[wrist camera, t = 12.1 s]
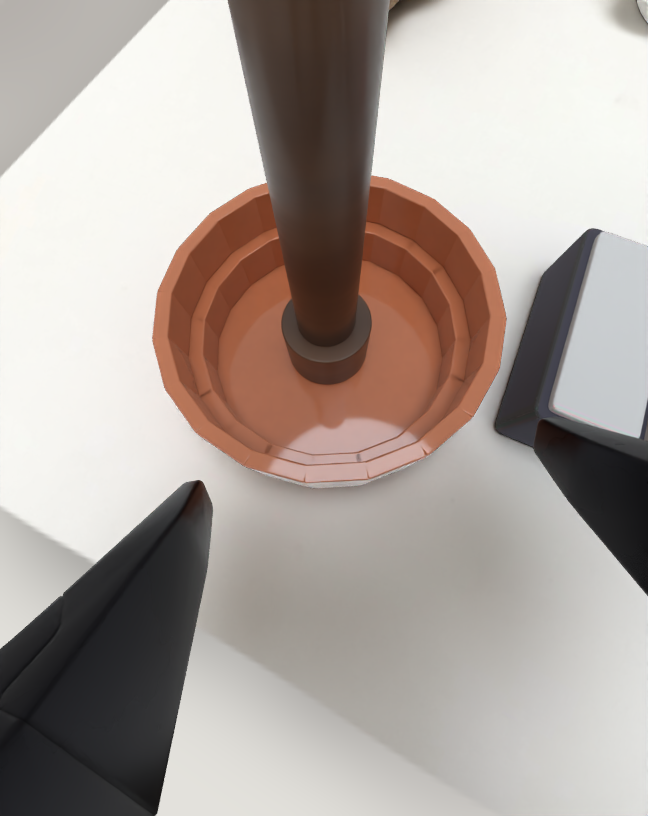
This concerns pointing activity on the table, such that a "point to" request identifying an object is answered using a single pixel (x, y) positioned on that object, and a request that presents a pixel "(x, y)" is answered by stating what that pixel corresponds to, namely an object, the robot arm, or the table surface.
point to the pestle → (317, 161)
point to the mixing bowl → (386, 354)
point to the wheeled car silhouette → (643, 8)
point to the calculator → (585, 343)
